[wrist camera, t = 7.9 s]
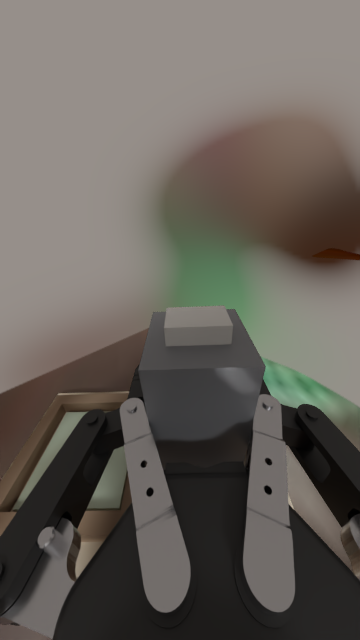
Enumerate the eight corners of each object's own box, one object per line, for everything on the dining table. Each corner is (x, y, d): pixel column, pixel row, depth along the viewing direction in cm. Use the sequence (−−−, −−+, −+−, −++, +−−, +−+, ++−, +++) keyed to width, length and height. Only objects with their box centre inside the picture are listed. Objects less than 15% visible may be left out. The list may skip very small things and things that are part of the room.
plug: (223, 420, 17) (236, 294, 12) (237, 490, 13) (270, 346, 7) (166, 421, 18) (151, 297, 12) (162, 492, 13) (134, 350, 7)
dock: (247, 391, 21) (249, 379, 20) (315, 578, 10) (326, 570, 9) (60, 397, 21) (54, 385, 20) (-57, 580, 11) (-80, 573, 10)
